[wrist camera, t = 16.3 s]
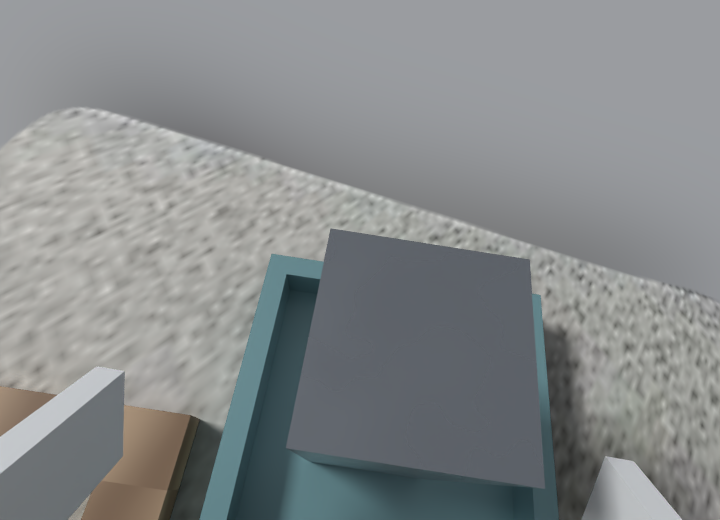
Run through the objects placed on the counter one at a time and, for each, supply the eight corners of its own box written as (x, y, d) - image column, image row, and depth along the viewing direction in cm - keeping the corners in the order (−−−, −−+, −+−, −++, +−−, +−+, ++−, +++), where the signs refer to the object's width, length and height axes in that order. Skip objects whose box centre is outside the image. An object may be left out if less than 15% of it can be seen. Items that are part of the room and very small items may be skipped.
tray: (516, 314, 23) (540, 294, 21) (532, 628, 17) (570, 657, 14) (277, 278, 23) (271, 253, 21) (201, 578, 17) (178, 598, 14)
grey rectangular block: (425, 368, 21) (529, 259, 10) (418, 478, 18) (544, 488, 8) (328, 353, 21) (330, 228, 10) (309, 461, 18) (286, 447, 8)
